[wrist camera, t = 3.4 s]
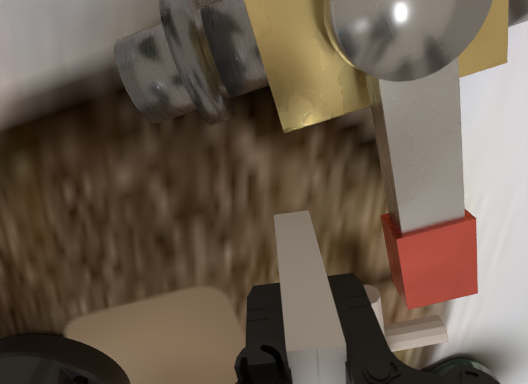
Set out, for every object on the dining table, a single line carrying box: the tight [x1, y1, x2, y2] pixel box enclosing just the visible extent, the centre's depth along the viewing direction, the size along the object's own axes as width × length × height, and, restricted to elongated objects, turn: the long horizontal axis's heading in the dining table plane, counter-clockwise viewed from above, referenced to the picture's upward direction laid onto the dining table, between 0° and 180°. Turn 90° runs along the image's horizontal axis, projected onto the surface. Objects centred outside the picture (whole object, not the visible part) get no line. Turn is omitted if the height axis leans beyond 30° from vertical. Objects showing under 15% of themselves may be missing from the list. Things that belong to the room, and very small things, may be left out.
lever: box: [323, 0, 493, 310], centre depth 12 cm, size 14×4×2 cm, turn 18°
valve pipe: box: [114, 0, 528, 133], centre depth 15 cm, size 22×7×9 cm, turn 108°
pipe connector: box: [363, 285, 448, 352], centre depth 24 cm, size 10×10×10 cm
